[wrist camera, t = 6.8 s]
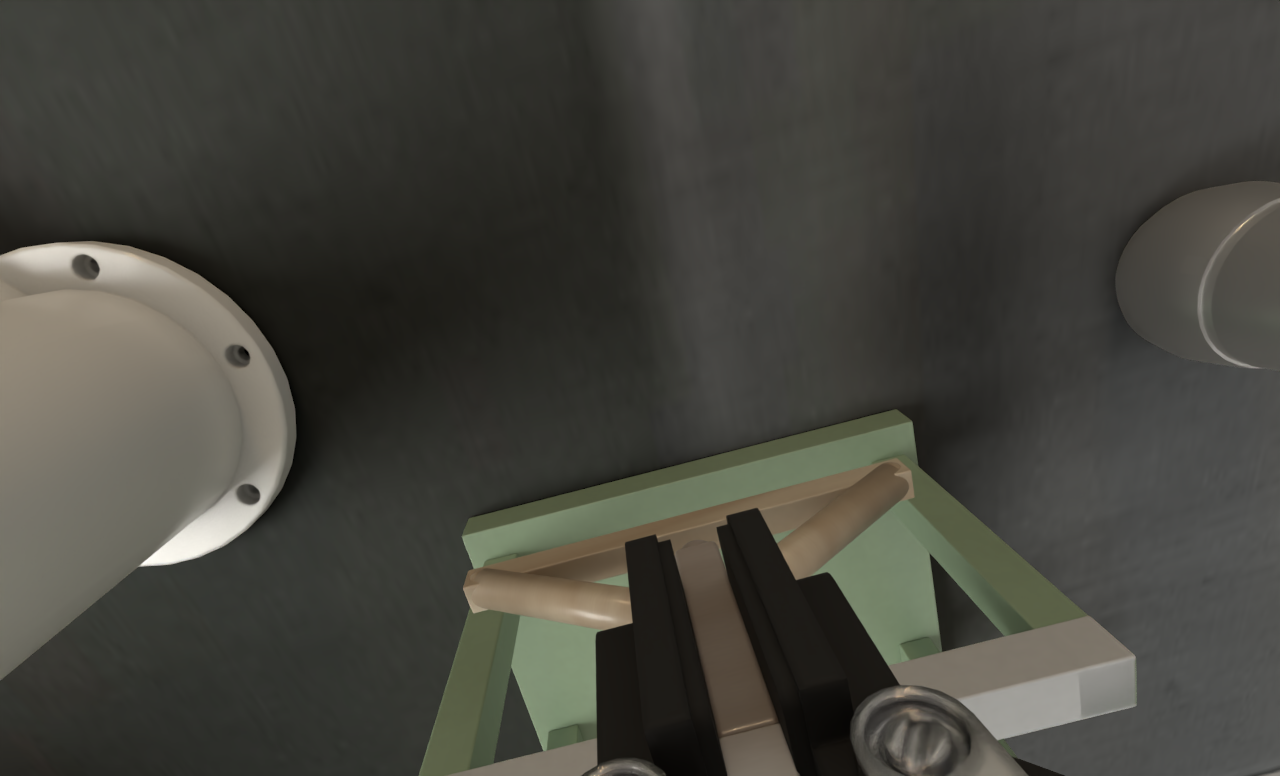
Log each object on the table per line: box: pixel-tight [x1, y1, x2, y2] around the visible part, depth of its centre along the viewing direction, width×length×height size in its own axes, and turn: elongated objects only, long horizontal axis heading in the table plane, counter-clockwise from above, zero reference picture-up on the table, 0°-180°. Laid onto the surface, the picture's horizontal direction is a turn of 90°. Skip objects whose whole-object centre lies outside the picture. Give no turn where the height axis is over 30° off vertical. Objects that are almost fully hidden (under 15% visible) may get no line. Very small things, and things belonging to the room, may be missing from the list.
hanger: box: [463, 458, 915, 776], centre depth 13 cm, size 6×13×12 cm, turn 104°
